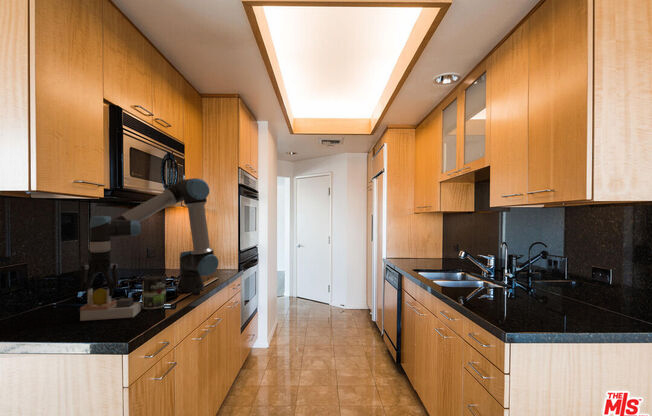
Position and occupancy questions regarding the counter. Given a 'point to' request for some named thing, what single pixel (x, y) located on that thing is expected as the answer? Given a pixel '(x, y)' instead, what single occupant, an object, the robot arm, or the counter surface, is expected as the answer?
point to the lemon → (99, 297)
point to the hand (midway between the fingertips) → (99, 303)
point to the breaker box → (108, 311)
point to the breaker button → (124, 302)
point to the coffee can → (154, 292)
